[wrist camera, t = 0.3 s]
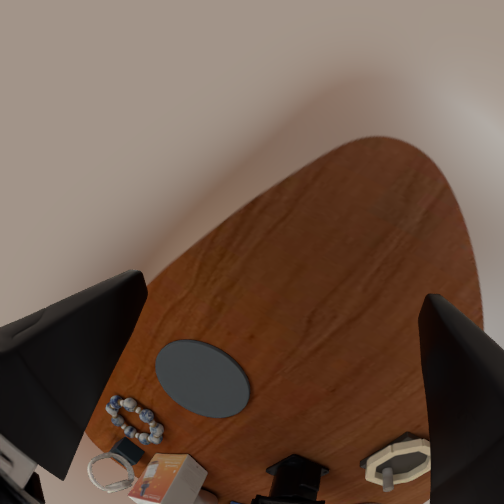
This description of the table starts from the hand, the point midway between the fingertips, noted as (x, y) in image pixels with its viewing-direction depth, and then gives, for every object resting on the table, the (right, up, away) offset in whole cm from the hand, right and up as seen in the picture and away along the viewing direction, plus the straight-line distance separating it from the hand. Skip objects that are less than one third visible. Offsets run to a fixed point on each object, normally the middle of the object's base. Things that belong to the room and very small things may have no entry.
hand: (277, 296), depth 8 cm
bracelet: (-18, -23, +28) cm, 40 cm away
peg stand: (+19, -25, +19) cm, 36 cm away
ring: (+18, -25, +18) cm, 36 cm away
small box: (-12, -33, +29) cm, 45 cm away
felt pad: (-6, -13, +22) cm, 26 cm away
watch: (-22, -34, +32) cm, 51 cm away
